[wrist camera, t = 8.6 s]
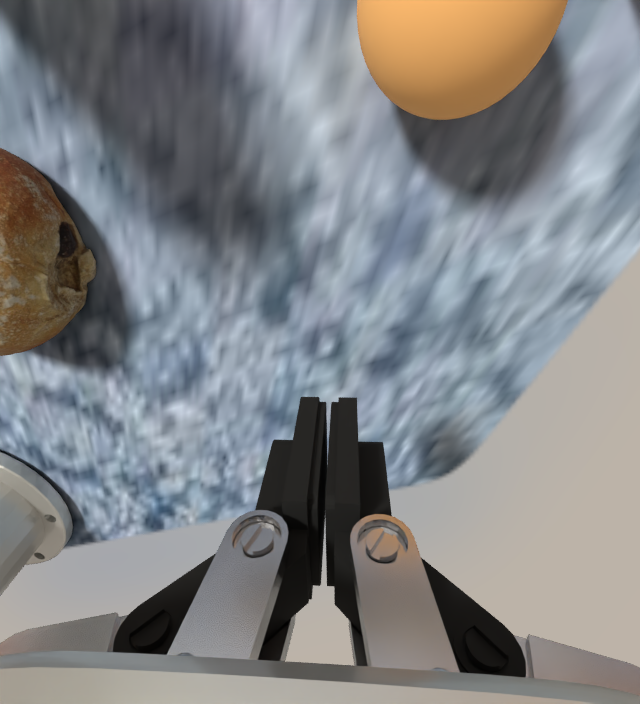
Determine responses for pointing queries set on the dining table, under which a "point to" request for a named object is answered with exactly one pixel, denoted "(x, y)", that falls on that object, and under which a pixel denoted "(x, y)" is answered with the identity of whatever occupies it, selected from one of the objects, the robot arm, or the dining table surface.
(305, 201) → the dining table surface
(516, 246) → the dining table surface
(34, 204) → the bread roll
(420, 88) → the ball
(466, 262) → the dining table surface
